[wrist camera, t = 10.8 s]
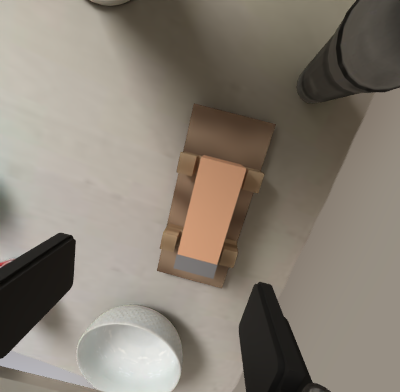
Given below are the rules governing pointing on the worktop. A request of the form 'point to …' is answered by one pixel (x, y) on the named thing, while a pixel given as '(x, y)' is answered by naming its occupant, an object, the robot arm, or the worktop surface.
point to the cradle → (187, 171)
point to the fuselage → (209, 215)
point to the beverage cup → (357, 55)
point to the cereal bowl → (131, 351)
